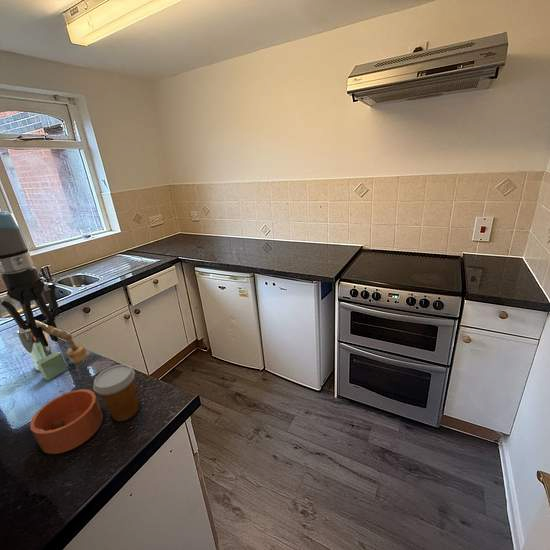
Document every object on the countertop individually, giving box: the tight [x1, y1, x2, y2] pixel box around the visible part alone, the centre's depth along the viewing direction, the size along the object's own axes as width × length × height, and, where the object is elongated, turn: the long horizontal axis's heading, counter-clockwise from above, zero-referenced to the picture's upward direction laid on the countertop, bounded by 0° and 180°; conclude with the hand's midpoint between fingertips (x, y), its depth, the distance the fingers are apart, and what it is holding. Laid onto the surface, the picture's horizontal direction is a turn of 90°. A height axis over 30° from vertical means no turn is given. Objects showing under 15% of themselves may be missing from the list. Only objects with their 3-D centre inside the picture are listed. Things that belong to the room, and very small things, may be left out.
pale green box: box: [36, 350, 69, 382], centre depth 96 cm, size 3×6×6 cm, turn 151°
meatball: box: [51, 420, 65, 430], centre depth 74 cm, size 3×3×3 cm
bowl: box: [29, 388, 104, 455], centre depth 74 cm, size 14×14×6 cm
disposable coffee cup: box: [92, 364, 140, 422], centre depth 77 cm, size 10×10×12 cm
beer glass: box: [16, 327, 53, 371], centre depth 100 cm, size 7×7×15 cm
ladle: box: [35, 319, 89, 364], centre depth 87 cm, size 24×4×8 cm, turn 60°
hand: (50, 342), depth 90 cm, fingers closed on ladle, 2 cm apart
